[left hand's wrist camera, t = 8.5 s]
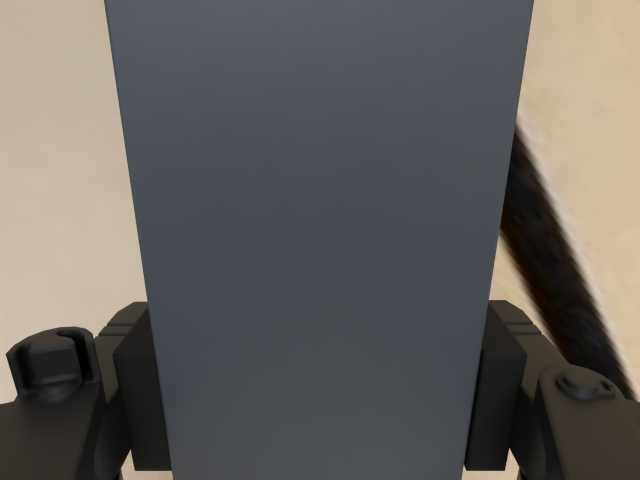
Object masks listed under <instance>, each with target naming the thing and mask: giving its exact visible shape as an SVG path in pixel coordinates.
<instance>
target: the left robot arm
mask: <svg viewBox="0 0 640 480" xmlns="http://www.w3.org/2000/svg"><path fill="white" fill-rule="evenodd" d="M6 356H7V360H8V363H9V367H10V370H11V373H12V377H13V380H14V383H15V387H16V390H17V394H18V395H17V397H16V399H15V401H13V402H9V403H5V404H0V480H123V476H122V471H121V467H122V465H123V463H124V461H125V459H126V457H127V455H128V453H129V451H130V449H131V453H132V458H133V463H134V469H135V471H172V467H171V460H170V453H169V446H168V439H167V432H166V425H165V418H164V411H163V404H162V397H161V391H160V384H159V377H158V370H157V363H156V356H155V349H154V342H153V335H152V328H151V321H150V314H149V307H148V302H133V303H132V304H130V305H128V306H127V307H125V308H123V309H122V310H120V311H118V312H117V313H116V314H115V315H114V317H113V318H112V319H111V320H110V321H109V322H108V323H107V326H105V327H104V328H103V329H102V330H101V332H100V333H99V335H98V336H96V337H95V338H93V334H92V333H91V332H90V331H88V330H87V329H84V328H79V327H59V328H55V329H50V330H46V331H42V332H40V333H37V334H34V335H32V336H29V337H27V338H25V339H24V340H22V341H20V342H19V343H17V344H15V345H14V346H13V347H12V348H11V349H10V350H9V351H8V352H7V353H6ZM509 448H510V450H511V452H512V454H513V456H514V457H515V459H516V461H517V463H518V465H519V471H518V476H517V480H640V402H635V401H631V400H627V399H625V398H624V396H623V394H622V393H621V391H620V390H619V389H618V388H617V387H616V385H615V384H614V383H612V382H611V381H609V380H608V379H607V378H605V377H604V376H602V375H600V374H598V373H596V372H594V371H591V370H589V369H587V368H583V367H579V366H575V365H571V364H569V363H568V362H567V361H566V360H565V359H564V357H563V356H562V355H561V354H560V353H559V352H558V351H557V349H556V348H555V347H554V346H553V345H552V344H551V343H550V341H549V340H548V339H547V338H546V337H545V336H544V335H542V334H541V331H540V330H539V329H538V328H537V326H536V325H533V322H532V321H531V320H530V318H529V317H528V316H527V315H526V314H525V313H524V312H523V310H521V309H519V308H518V307H516V306H514V305H513V304H511V303H509V302H508V301H506V300H488V307H487V313H486V320H485V327H484V333H483V340H482V346H481V353H480V360H479V366H478V373H477V379H476V386H475V393H474V399H473V406H472V412H471V419H470V426H469V432H468V439H467V445H466V452H465V459H464V466H465V468H466V471H505V467H506V462H507V457H508V452H509Z"/></svg>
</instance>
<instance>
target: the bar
mask: <svg viewBox="0 0 640 480" xmlns="http://www.w3.org/2000/svg"><path fill="white" fill-rule="evenodd" d="M104 3H105V10H106V17H107V24H108V31H109V37H110V44H111V51H112V58H113V65H114V72H115V79H116V86H117V93H118V100H119V107H120V114H121V121H122V127H123V134H124V141H125V148H126V155H127V162H128V169H129V176H130V183H131V190H132V197H133V204H134V211H135V217H136V224H137V231H138V238H139V245H140V252H141V259H142V266H143V273H144V280H145V287H146V294H147V301H148V307H149V314H150V321H151V328H152V335H153V342H154V349H155V356H156V363H157V370H158V377H159V384H160V391H161V397H162V404H163V411H164V418H165V425H166V432H167V439H168V446H169V453H170V460H171V467H172V474H173V480H461V478H462V472H463V465H464V459H465V452H466V445H467V439H468V432H469V426H470V419H471V412H472V406H473V399H474V393H475V386H476V379H477V373H478V366H479V360H480V353H481V346H482V340H483V333H484V327H485V320H486V313H487V307H488V300H489V294H490V287H491V281H492V274H493V267H494V261H495V254H496V248H497V241H498V234H499V228H500V221H501V215H502V208H503V201H504V195H505V188H506V182H507V175H508V168H509V162H510V155H511V149H512V142H513V135H514V129H515V122H516V116H517V109H518V102H519V96H520V89H521V83H522V76H523V69H524V63H525V56H526V50H527V43H528V36H529V30H530V23H531V17H532V10H533V3H534V0H104Z"/></svg>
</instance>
